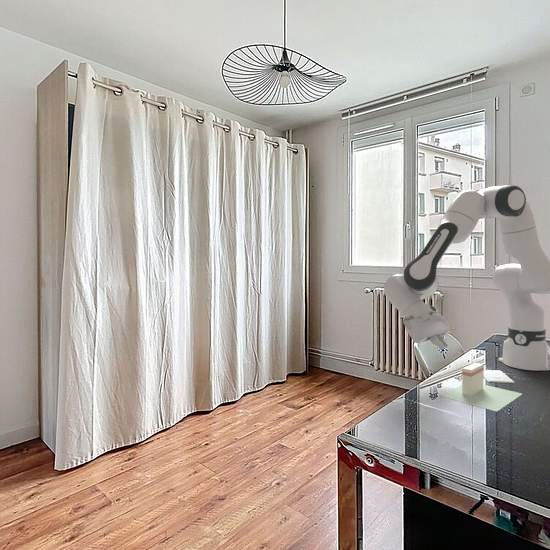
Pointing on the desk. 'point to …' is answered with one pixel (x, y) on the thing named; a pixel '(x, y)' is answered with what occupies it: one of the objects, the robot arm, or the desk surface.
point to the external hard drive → (496, 376)
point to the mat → (484, 397)
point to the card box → (472, 379)
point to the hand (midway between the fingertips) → (444, 348)
